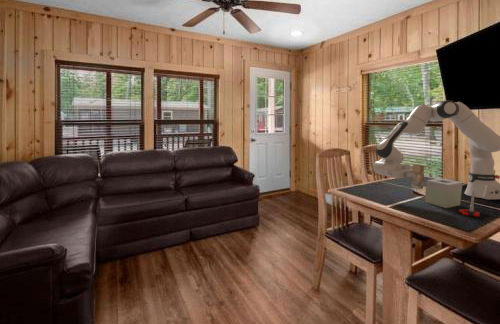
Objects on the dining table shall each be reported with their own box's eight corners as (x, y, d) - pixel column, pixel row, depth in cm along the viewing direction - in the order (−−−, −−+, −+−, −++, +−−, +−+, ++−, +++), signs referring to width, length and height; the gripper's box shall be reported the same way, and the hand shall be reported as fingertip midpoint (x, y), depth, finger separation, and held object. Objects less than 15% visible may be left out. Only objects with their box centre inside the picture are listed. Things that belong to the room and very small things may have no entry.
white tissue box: (438, 199, 167) (440, 178, 165) (459, 205, 156) (462, 182, 154) (424, 202, 162) (426, 180, 160) (445, 208, 151) (448, 184, 149)
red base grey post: (457, 210, 149) (460, 215, 141) (460, 186, 147) (463, 190, 139) (477, 213, 145) (481, 217, 137) (480, 188, 143) (484, 192, 135)
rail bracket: (416, 186, 155) (417, 164, 153) (423, 188, 152) (424, 165, 150) (411, 187, 154) (412, 164, 152) (417, 189, 150) (419, 165, 148)
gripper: (384, 167, 159) (406, 171, 146) (410, 164, 167) (432, 167, 154) (384, 177, 160) (405, 182, 147) (409, 174, 168) (431, 178, 155)
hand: (419, 175), depth 151 cm, fingers closed on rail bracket, 4 cm apart
